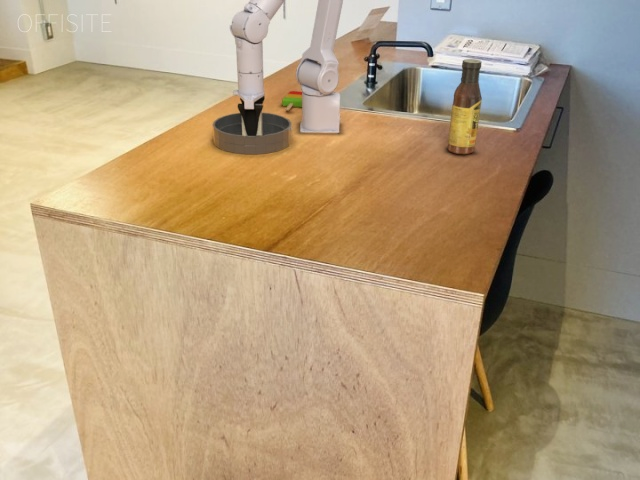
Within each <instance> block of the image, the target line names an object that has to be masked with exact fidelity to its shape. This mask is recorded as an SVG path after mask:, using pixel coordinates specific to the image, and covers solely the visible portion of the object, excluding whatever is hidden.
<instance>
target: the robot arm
mask: <svg viewBox="0 0 640 480" xmlns="http://www.w3.org/2000/svg"><path fill="white" fill-rule="evenodd" d="M285 1H286V0H249V1H248V3H245V5H243V10H240V11H238V12H236V13H235V14H234V15H233V18H232V19H231V24H229V31H230V33H231V35H232V36H233V38H234V42H235V43H234V44H235V50H236V53H235V54H236V72H237V74H236V75H237V89H233V91H232V95H233V96H238V97H239V101H240V103H237V110H238V113H241V115H242V118H243V121H244V125H245V129H246V133H247V136H256V135H257V130H258V121H259V116H260V113H261V111H262V112H263V109H264V105H263V103H264V102H265V99H266V98H265V97H266V96H265V95H266V91H265V83H264V82H265V81H264V80H265V79H264V51H263V49H264V46H263V44H264V43H263V41H264V39H265V38H266V37H267V36H268V33H269V25H270V24H271V21H272V19H273V18H274V17H275V15H276V14H277V13H278V11H279V10H280V9H281V7H282V5H283V4H284V3H285ZM343 4H344V0H318V2H317V6H316V12H315V18H314V24H313V29H312V34H311V40H310V45H309V47H308V48H307V49H306V50H305V51H304V52H303V53H302V55H301V59H300V62H299V64H298V66H297V68H296V71H295V79H296V81H297V83H298V84H299V85H300V90H301V92H302V107H301V121H300V126H299V132H300V133H316V134H317V133H320V134H321V133H323V134H324V133H325V134H326V133H327V134H329V133H330V134H333V133H334V134H340V125H341V120H342V119H341V117H342V116H341V92H337V91H335V90H336V89H337V87H338V86H339V83H340V82H339V81H340V75H339V65H340V62H339V60H338V58H337V56H336V55H335V52H334V49H335V44H336V40H337V35H338V29H339V24H340V18H341V14H342V9H343ZM256 104H262V105H256Z"/></svg>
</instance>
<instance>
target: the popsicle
mask: <svg viewBox="0 0 640 480" xmlns="http://www.w3.org/2000/svg"><path fill="white" fill-rule="evenodd" d="M281 104H282V106H283V107H285V111H290V110H291V109H292V108H302V91H297V90H296V91H295V90H291V91H289V92H288V93H287V94H286V95H285V96H284V97H283V98H282V100H281Z"/></svg>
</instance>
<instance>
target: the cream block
mask: <svg viewBox="0 0 640 480" xmlns="http://www.w3.org/2000/svg"><path fill="white" fill-rule="evenodd" d="M256 105H263V104H256ZM262 113H263V110H262V111H261V113H260V116H259V121H258V130H257V135H256V136H258V135H263V127H262ZM241 116H242V115H241ZM242 135H243V136H247V133H246V129H245V125H244V121H243V118H242Z"/></svg>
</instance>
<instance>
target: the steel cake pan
mask: <svg viewBox="0 0 640 480" xmlns="http://www.w3.org/2000/svg"><path fill="white" fill-rule="evenodd" d="M292 124H293V123H292V121H291V120H290V119H289V118H288V117H286V116H282V115H279V114H275V113H271V112H262V127H263V135H258V136H243V135H242V116H241V113H240V112H237V113H235V112H234V113H230V114H226V115H222V116H220V117H218V118H216V119H215V120H214V121H213V122H212V138H213V144H214V146H215V147H217V148H218V149H219V150H222V151H224V152H227V153H232V154H239V155H265V154H271V153H276V152H279V151H283V150H285V149H287V148H289V146H290V145H292V140H293V138H292V137H293V135H292V134H293V133H292V128H293V127H292Z"/></svg>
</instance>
